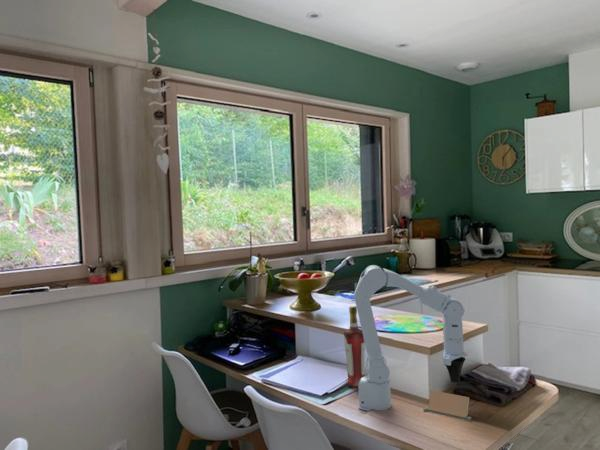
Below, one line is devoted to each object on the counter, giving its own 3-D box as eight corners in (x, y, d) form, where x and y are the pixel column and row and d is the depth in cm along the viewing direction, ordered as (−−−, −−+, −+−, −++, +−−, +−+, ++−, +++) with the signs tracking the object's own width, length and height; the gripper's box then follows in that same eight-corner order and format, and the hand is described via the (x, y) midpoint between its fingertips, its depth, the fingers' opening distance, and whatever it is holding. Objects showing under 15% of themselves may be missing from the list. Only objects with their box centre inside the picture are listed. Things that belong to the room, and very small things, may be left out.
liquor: (344, 382, 161) (340, 305, 161) (364, 380, 162) (360, 304, 161) (348, 390, 154) (344, 309, 154) (369, 388, 155) (365, 308, 154)
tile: (428, 412, 133) (427, 411, 132) (431, 390, 136) (430, 390, 135) (466, 420, 126) (466, 420, 126) (469, 397, 129) (468, 397, 129)
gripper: (459, 345, 128) (461, 392, 128) (473, 333, 140) (475, 376, 140) (435, 342, 132) (437, 387, 133) (450, 330, 144) (452, 372, 144)
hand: (455, 381), depth 137 cm, fingers closed
